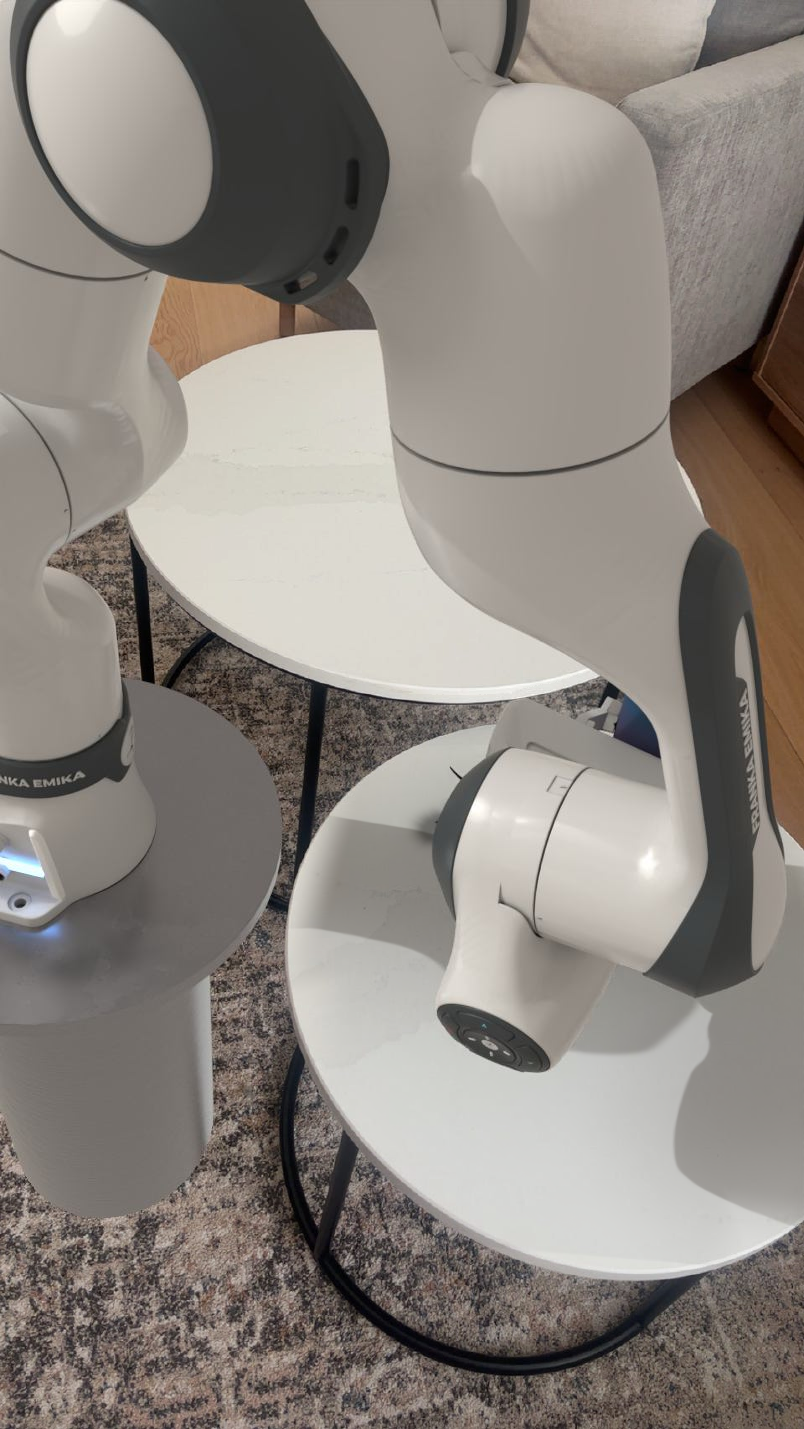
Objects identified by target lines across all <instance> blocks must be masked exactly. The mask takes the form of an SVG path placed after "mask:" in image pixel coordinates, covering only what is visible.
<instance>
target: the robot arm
mask: <svg viewBox="0 0 804 1429" xmlns="http://www.w3.org/2000/svg"><path fill="white" fill-rule="evenodd" d="M530 8H531V0H0V919H2V920H5V921H9V922H12V923H16V924H20V925H23V926H27V927H39V926H42V925H44V924H46V923H48V922H49V921H51V920H52V919H53V918H55V917H56V916H57V915H59V914H60V913H61V912H62V911H63V910H64V909H66V908H67V907H68V906H69V905H70V904H72V903H74V902H75V901H77V900H80V899H82V898H84V897H87V896H90V895H92V894H95V893H97V892H99V891H102V890H104V889H106V888H108V887H110V886H111V885H113V884H115V883H116V882H118V881H119V880H121V879H122V878H124V877H125V876H126V875H127V874H129V873H130V872H131V871H132V870H133V869H134V868H135V867H136V866H137V865H138V864H139V862H140V861H141V860H142V859H143V857H144V856H145V854H146V853H147V851H148V849H149V847H150V845H151V843H152V840H153V837H154V834H155V829H156V811H155V807H154V803H153V801H152V798H151V796H150V794H149V793H148V791H147V790H146V788H145V787H144V785H143V783H142V781H141V779H140V776H139V774H138V771H137V768H136V765H135V762H134V758H133V756H134V749H135V736H134V723H133V715H131V709H130V703H129V696H128V692H127V688H126V686H125V683H124V681H123V680H122V678H123V677H122V675H121V667H120V665H121V664H120V656H119V648H118V647H119V646H118V639H117V638H118V637H117V627H116V621H115V617H114V615H113V612H112V610H111V609H110V607H109V605H108V604H107V602H106V601H105V599H104V598H103V597H102V596H101V594H100V593H99V592H98V591H97V590H96V589H95V588H94V586H92V585H91V584H90V583H88V582H87V581H86V580H84V579H83V578H81V577H80V576H78V575H76V574H74V573H71V572H69V571H66V570H63V569H60V568H57V567H53V566H47V565H48V563H49V561H50V559H51V557H53V555H54V554H56V553H57V552H58V551H60V550H61V549H62V548H64V547H65V546H67V545H68V544H70V543H72V542H73V541H75V540H77V539H78V538H80V537H81V536H83V535H85V534H86V533H88V532H89V531H91V530H94V529H95V528H96V527H97V526H99V525H101V524H103V523H104V522H105V521H107V520H109V519H111V518H112V517H114V516H115V515H117V514H118V513H120V512H122V511H124V510H125V509H126V508H128V507H130V506H132V505H133V504H135V503H136V502H137V501H138V500H139V499H140V498H141V497H142V496H143V495H145V493H146V492H148V491H149V490H150V489H151V488H152V487H153V486H154V485H155V484H156V483H157V482H158V481H159V480H160V479H161V477H162V476H163V475H164V474H166V472H168V470H169V469H170V468H171V467H172V466H173V465H174V464H175V463H176V462H177V461H178V459H180V457H181V455H182V454H183V453H184V451H185V448H186V445H187V441H188V436H189V418H188V416H189V415H188V410H187V404H186V400H185V396H184V393H183V391H182V388H181V385H180V383H179V381H178V379H177V377H176V375H175V373H174V372H173V370H172V369H171V366H170V365H169V364H168V363H167V361H166V360H165V359H164V357H163V356H162V355H161V354H160V353H159V351H157V350H156V349H155V347H153V346H152V344H150V339H151V337H152V332H153V329H154V325H155V322H156V318H157V315H158V311H159V308H160V305H161V301H162V298H163V295H164V291H165V289H166V285H167V282H168V278H169V277H171V278H172V277H173V278H177V279H181V280H186V281H190V282H198V283H209V284H218V285H234V286H235V285H238V286H242V287H245V288H247V289H249V290H251V291H253V292H255V293H257V294H259V295H261V296H264V297H266V298H269V299H271V300H273V301H275V302H277V303H280V304H283V305H287V306H288V305H291V306H293V305H295V306H307V305H311V304H313V303H315V302H317V301H320V300H322V299H324V298H325V297H327V296H328V295H330V294H331V293H333V292H334V291H336V289H338V288H339V287H341V285H342V284H343V283H345V281H346V280H347V281H348V282H349V283H350V284H351V285H353V287H354V288H355V289H356V291H358V292H359V294H360V295H361V296H362V298H363V299H364V301H365V303H366V304H367V306H368V308H369V310H370V312H371V314H372V317H373V320H374V324H375V327H376V330H377V336H378V341H379V346H380V350H381V357H382V358H381V359H382V365H383V366H382V367H383V375H384V376H383V377H384V385H385V394H386V403H387V404H386V405H387V413H388V421H389V431H390V438H391V439H390V440H391V447H392V448H391V449H392V457H393V464H394V471H395V479H396V485H397V490H398V491H397V492H398V495H399V499H400V503H401V507H402V511H403V514H404V517H405V519H406V522H407V525H408V528H409V530H410V532H411V535H412V537H413V539H414V541H415V545H416V546H417V548H418V550H419V552H420V554H421V555H422V557H423V559H424V560H425V562H426V564H427V565H428V566H429V568H430V569H431V570H432V571H433V573H434V574H435V575H436V576H437V577H438V578H439V579H440V580H441V582H443V583H444V584H445V585H446V586H447V587H448V588H449V589H450V590H452V591H453V592H454V593H455V594H456V595H457V596H459V597H460V598H461V599H463V600H464V601H465V602H466V603H468V604H469V605H471V606H472V607H473V608H474V609H477V610H478V611H480V612H481V613H483V614H484V615H486V616H488V617H490V618H492V619H494V620H495V621H497V622H499V623H502V624H503V625H506V626H508V627H509V628H512V629H514V630H516V631H518V632H520V633H523V634H525V635H527V636H529V637H531V638H533V639H535V640H536V641H539V642H541V643H543V644H545V645H547V646H549V647H551V648H553V649H555V650H556V651H558V652H560V653H562V654H564V655H566V656H567V657H569V658H571V659H572V660H574V661H575V662H578V663H579V664H581V665H583V666H584V667H586V668H587V669H588V670H590V671H592V672H593V673H595V674H597V675H598V676H599V677H601V678H603V679H604V680H606V681H607V682H609V683H610V684H612V685H613V687H616V688H617V689H618V690H619V691H621V692H622V693H623V694H624V695H625V694H626V695H627V696H628V697H629V698H630V699H631V700H632V701H634V702H635V703H636V704H637V705H638V706H639V708H640V709H641V710H642V711H643V712H644V713H645V714H646V716H647V717H648V719H649V720H650V722H651V723H652V725H653V727H654V729H655V732H656V734H657V738H658V742H659V748H660V754H661V759H660V758H658V757H655V756H653V755H651V754H649V753H647V752H644V751H642V750H640V749H638V748H636V747H633V746H631V745H629V744H627V743H625V742H622V741H620V740H618V739H616V738H614V737H613V736H611V735H609V734H608V733H605V732H602V731H601V730H605V731H607V732H610V733H613V734H614V731H615V727H616V724H617V721H618V718H619V713H620V710H621V706H622V702H621V701H619V700H617V699H614V698H612V697H610V696H607V697H606V698H605V699H604V702H603V703H602V705H601V706H600V707H597V708H594V709H591V710H588V711H584V712H582V713H579V714H578V715H577V716H576V718H575V719H574V718H572V717H569V716H568V715H565V714H563V713H561V712H558V711H556V710H555V709H552V708H550V707H548V706H545V705H543V704H541V703H539V702H537V701H535V700H533V699H531V698H527V697H522V698H516V699H513V700H510V701H509V702H508V703H507V704H506V706H505V707H504V709H503V710H502V712H501V713H500V715H499V718H498V719H497V721H496V723H495V726H494V728H493V731H492V734H491V736H490V739H489V743H488V746H487V750H486V754H485V757H484V759H482V760H481V761H479V762H478V763H477V764H476V765H474V766H473V767H472V768H471V769H470V770H469V771H467V773H466V774H464V776H462V777H463V778H462V779H461V780H460V779H459V781H458V783H457V784H456V786H455V787H454V789H453V790H452V792H450V795H449V796H448V799H446V802H445V804H444V806H443V808H442V810H441V812H440V815H439V817H438V819H437V821H438V822H437V823H436V825H435V828H434V832H433V836H432V841H431V858H432V860H431V861H432V866H433V870H434V873H435V876H436V879H437V881H438V884H439V886H440V889H441V891H442V894H443V897H444V900H445V902H446V905H447V907H448V910H449V912H450V914H451V916H452V918H453V920H454V922H455V931H454V936H453V937H454V938H453V944H452V949H451V954H450V958H449V960H448V964H447V966H446V969H445V971H444V975H443V977H442V980H441V982H440V984H439V988H438V991H437V994H436V998H435V1004H434V1005H435V1006H434V1008H435V1014H436V1017H437V1019H438V1021H439V1022H440V1024H441V1025H442V1026H443V1028H444V1029H445V1030H446V1032H447V1033H448V1034H449V1035H450V1037H451V1038H452V1039H453V1040H454V1041H456V1043H459V1044H460V1045H462V1047H465V1048H466V1049H468V1051H469V1052H471V1053H473V1054H474V1055H477V1056H478V1057H481V1058H483V1059H485V1060H488V1061H490V1062H492V1063H493V1064H497V1065H499V1066H502V1067H504V1068H508V1069H510V1070H514V1071H516V1072H519V1073H535V1074H539V1073H546V1072H549V1071H551V1070H552V1069H554V1068H555V1067H556V1066H557V1065H558V1064H559V1063H560V1062H561V1060H562V1059H563V1058H564V1057H565V1056H566V1055H567V1053H568V1052H569V1051H570V1049H571V1047H572V1046H574V1043H575V1042H576V1040H577V1039H578V1038H579V1037H580V1035H581V1033H582V1031H583V1030H584V1028H585V1027H586V1026H587V1023H588V1022H589V1020H590V1018H591V1017H592V1015H593V1014H594V1012H595V1010H596V1008H597V1006H598V1005H599V1003H600V1001H601V999H602V997H603V996H604V993H605V992H606V990H607V988H608V986H609V984H610V982H611V980H612V977H613V975H614V974H615V973H614V972H615V971H616V968H617V967H618V966H617V965H620V966H623V967H625V968H626V967H627V968H629V969H632V970H635V971H638V972H640V973H642V976H644V977H645V978H648V979H650V980H652V981H655V982H658V983H659V984H662V985H665V986H666V987H669V988H671V989H673V990H675V991H678V992H680V993H682V994H684V995H686V996H688V997H691V998H693V999H698V998H701V997H705V996H709V995H713V994H715V993H719V992H721V991H724V990H728V989H730V988H732V987H735V986H737V985H739V984H741V983H744V982H746V981H747V980H749V979H752V978H754V977H755V976H757V975H758V974H759V973H760V972H761V970H762V969H763V966H764V964H765V962H766V960H767V959H768V958H769V956H770V954H771V953H772V951H773V949H774V946H775V945H776V943H777V941H778V937H779V935H780V932H781V929H782V926H783V922H784V918H785V914H786V913H785V912H786V907H787V899H788V875H787V869H786V860H785V859H786V857H785V847H784V843H783V839H782V834H781V832H780V829H779V826H780V824H779V821H778V820H777V816H776V813H775V806H774V800H773V792H772V791H773V790H772V781H771V770H770V758H769V745H768V733H767V723H766V710H765V709H766V708H765V698H764V691H763V679H762V676H763V675H762V666H761V657H760V649H759V640H758V632H757V626H756V625H757V624H756V619H755V617H756V616H755V610H754V604H753V597H752V592H751V588H750V583H749V579H748V575H747V571H746V568H745V564H744V562H743V558H742V556H741V553H740V551H739V550H738V549H737V548H736V547H735V546H734V545H733V544H732V543H731V542H730V541H728V539H726V538H725V537H724V536H722V535H721V534H720V533H719V532H718V531H717V530H716V529H714V528H712V527H711V526H710V525H709V523H708V522H707V520H706V518H705V517H704V516H703V514H702V513H701V511H700V509H699V507H698V506H697V504H696V502H695V501H694V499H693V497H692V495H691V493H690V491H689V489H688V486H687V485H686V482H685V479H684V477H683V475H682V472H681V470H680V467H679V464H678V460H677V457H676V453H675V449H674V445H673V439H672V435H671V434H672V433H671V423H670V422H671V420H670V419H671V414H670V413H671V412H670V410H671V393H672V392H671V391H672V390H671V389H672V362H673V360H672V306H671V305H672V304H671V291H670V289H671V288H670V277H669V276H670V275H669V274H670V272H669V260H668V253H667V243H666V242H667V241H666V234H665V223H664V216H663V211H662V209H663V208H662V204H661V197H660V196H661V195H660V191H659V185H658V183H659V182H658V178H657V172H656V167H655V164H654V160H653V156H652V151H651V150H650V148H649V146H648V144H647V141H646V139H645V138H644V136H643V135H642V133H641V131H640V130H639V129H638V127H637V126H636V125H635V124H634V122H632V120H631V119H630V118H629V117H628V116H627V115H626V114H625V113H624V112H622V111H621V110H620V109H618V108H617V107H615V106H614V105H612V104H611V103H609V102H608V101H605V100H604V99H601V98H599V97H597V96H595V95H593V94H591V93H588V92H586V91H582V90H580V89H576V88H573V87H569V86H565V85H561V84H552V83H544V82H521V83H520V82H519V83H513V80H512V79H508V78H509V76H510V74H511V72H512V70H513V68H514V66H515V64H516V62H517V59H518V57H519V54H520V51H521V49H522V46H523V42H524V39H525V36H526V32H527V26H528V21H529V16H530ZM315 276H316V280H315V281H313V282H311V283H309V284H308V285H307V286H305V287H304V288H301V283H302V282H304V281H306V280H309V279H311V278H313V277H315ZM121 677H122V678H121ZM20 904H25V906H24V907H22V908H16V907H17V906H18V905H20Z"/></svg>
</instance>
